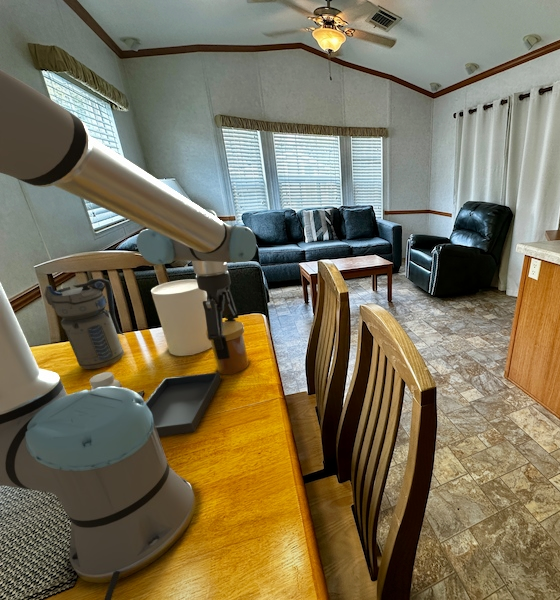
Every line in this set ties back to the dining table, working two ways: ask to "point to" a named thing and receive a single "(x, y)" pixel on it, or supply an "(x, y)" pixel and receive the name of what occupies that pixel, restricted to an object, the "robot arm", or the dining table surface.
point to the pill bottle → (104, 380)
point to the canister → (182, 316)
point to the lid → (231, 330)
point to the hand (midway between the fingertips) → (229, 348)
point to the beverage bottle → (88, 322)
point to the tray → (181, 402)
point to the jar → (232, 357)
